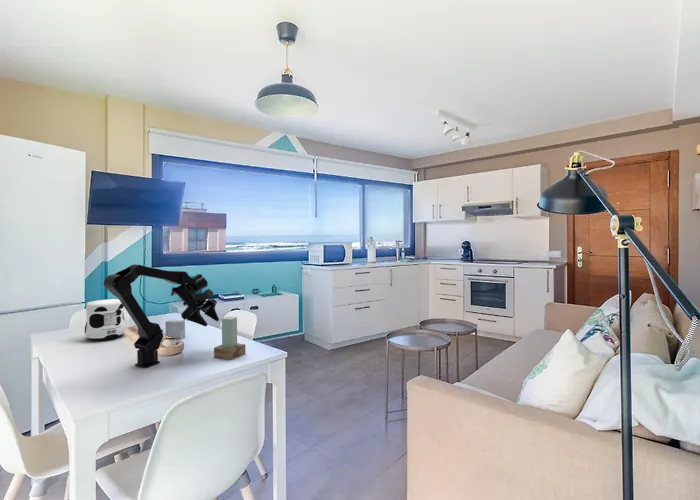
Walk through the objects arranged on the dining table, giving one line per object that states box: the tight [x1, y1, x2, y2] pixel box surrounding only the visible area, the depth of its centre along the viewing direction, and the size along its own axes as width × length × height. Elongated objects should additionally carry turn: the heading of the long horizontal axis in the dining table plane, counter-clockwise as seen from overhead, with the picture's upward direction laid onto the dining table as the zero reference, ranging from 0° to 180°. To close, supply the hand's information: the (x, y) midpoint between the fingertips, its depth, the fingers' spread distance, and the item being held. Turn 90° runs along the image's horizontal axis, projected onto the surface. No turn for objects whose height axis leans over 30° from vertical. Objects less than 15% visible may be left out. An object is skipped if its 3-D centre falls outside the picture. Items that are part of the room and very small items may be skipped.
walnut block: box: [213, 342, 246, 361], centre depth 157 cm, size 9×9×4 cm
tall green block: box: [221, 316, 238, 348], centre depth 157 cm, size 4×4×12 cm
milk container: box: [84, 298, 127, 341], centre depth 185 cm, size 17×17×18 cm
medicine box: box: [164, 319, 186, 340], centre depth 184 cm, size 8×4×9 cm, turn 84°
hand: (212, 323), depth 158 cm, fingers open, 9 cm apart
